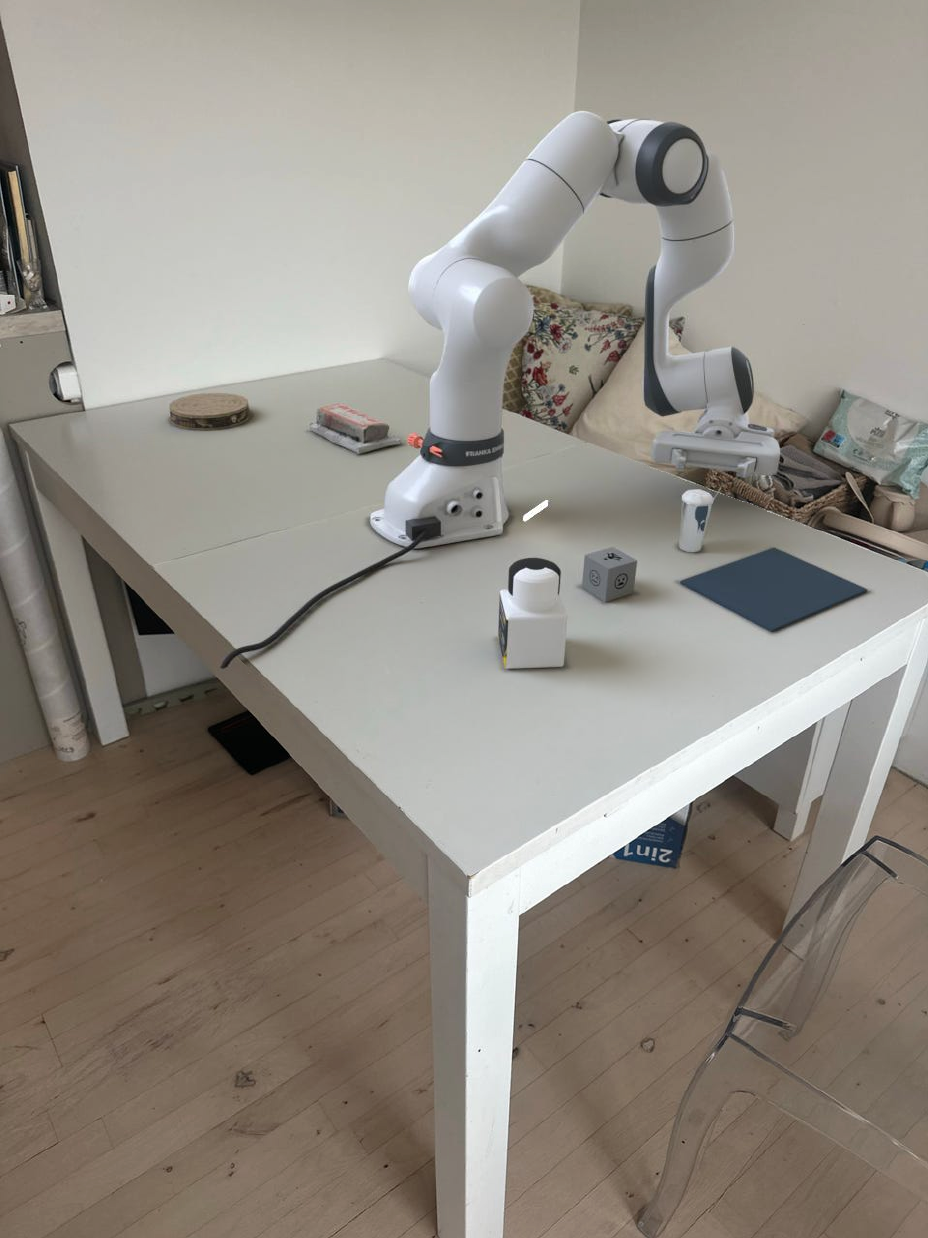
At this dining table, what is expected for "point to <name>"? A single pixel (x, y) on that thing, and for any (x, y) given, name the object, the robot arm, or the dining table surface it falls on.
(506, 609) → the medicine bottle
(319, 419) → the packaged product
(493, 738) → the dining table surface
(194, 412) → the round wood slice
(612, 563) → the dice cube
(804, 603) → the mat
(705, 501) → the milkshake
